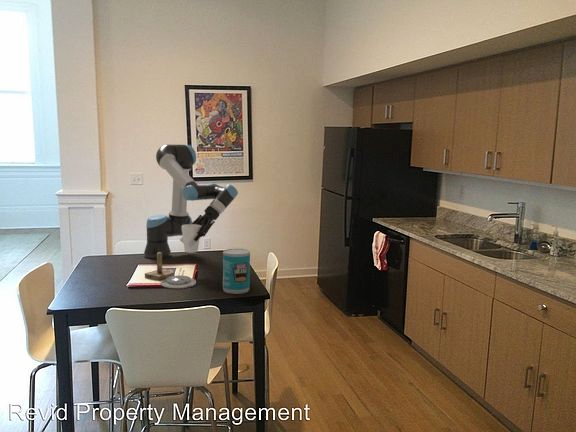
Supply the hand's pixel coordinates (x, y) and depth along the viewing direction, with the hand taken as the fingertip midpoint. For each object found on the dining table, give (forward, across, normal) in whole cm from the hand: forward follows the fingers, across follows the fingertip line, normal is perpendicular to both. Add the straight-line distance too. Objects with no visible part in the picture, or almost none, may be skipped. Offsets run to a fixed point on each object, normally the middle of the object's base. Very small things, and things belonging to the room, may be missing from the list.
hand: (185, 243), depth 236 cm
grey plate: (+18, -13, -5) cm, 22 cm away
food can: (+5, -35, -18) cm, 39 cm away
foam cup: (+1, 0, -6) cm, 6 cm away
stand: (+20, +3, -3) cm, 21 cm away
